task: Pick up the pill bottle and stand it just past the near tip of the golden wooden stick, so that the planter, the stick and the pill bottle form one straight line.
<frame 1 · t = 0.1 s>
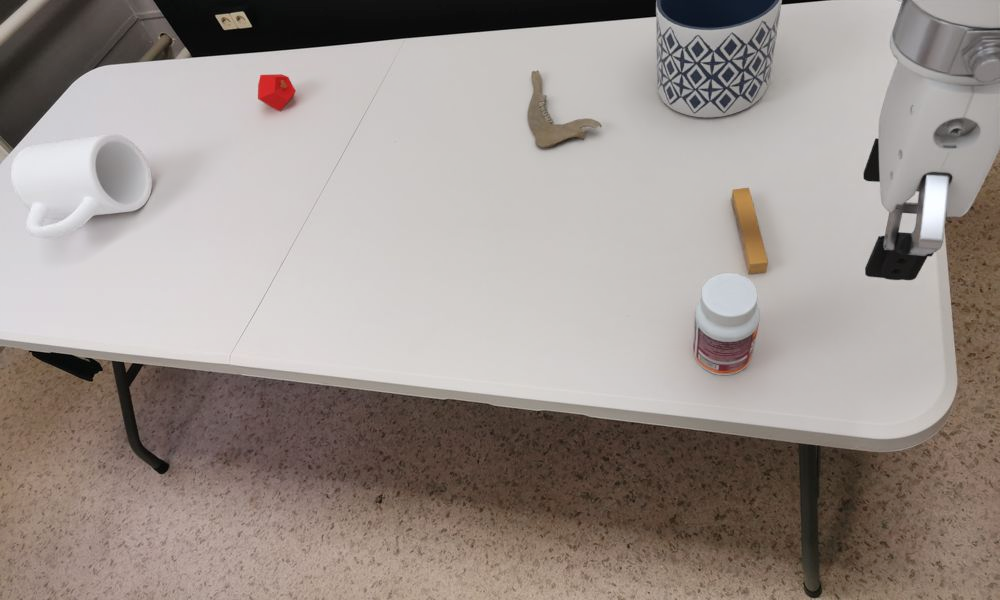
hand: (886, 224, 47), 22 cm above the table, tool pointing down, fingers open, 9 cm apart
pill bottle: (721, 353, 68), on the table
planter: (711, 86, 93), on the table
mug: (104, 217, 108), on the table
jawbone: (563, 107, 97), on the table
fry stick: (747, 234, 76), on the table
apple: (283, 104, 116), on the table
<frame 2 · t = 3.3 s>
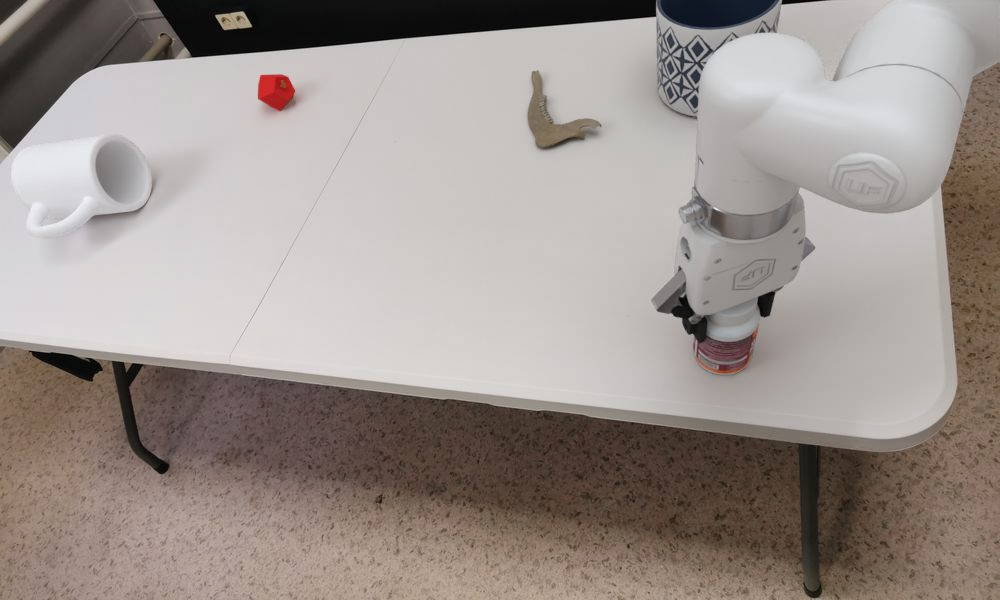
hand: (726, 318, 62), 7 cm above the table, tool pointing down, fingers closed on pill bottle, 6 cm apart
pill bottle: (721, 353, 68), on the table, touching gripper
everything else where it was.
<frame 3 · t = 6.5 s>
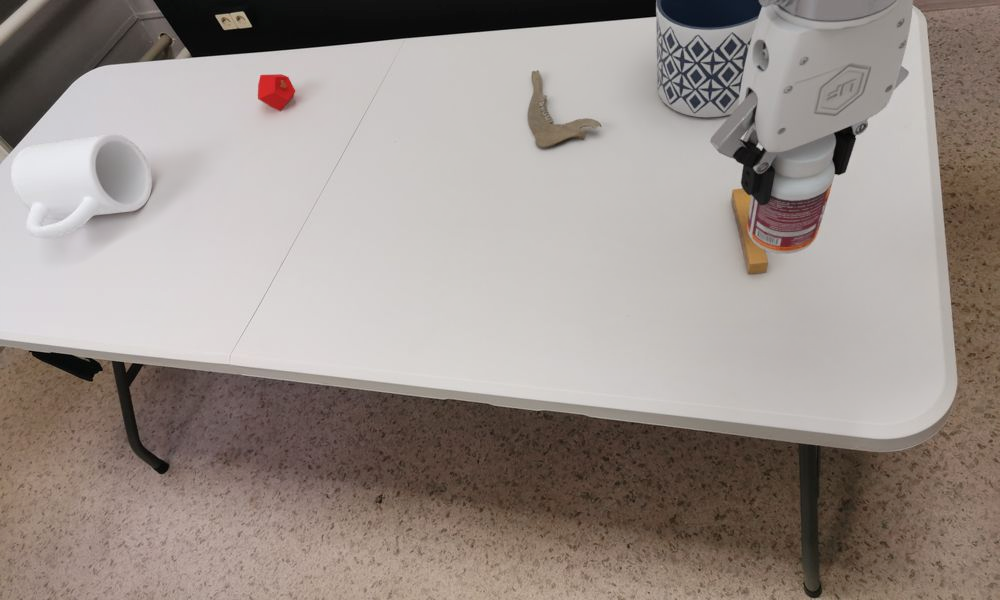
hand: (792, 177, 53), 21 cm above the table, tool pointing down, fingers closed on pill bottle, 6 cm apart
pill bottle: (780, 232, 58), point 14 cm above the table, touching gripper
everything else where it was.
when the fingers open (7 cm above the table, at t = 10.0 s): pill bottle stays where it is, on the table.
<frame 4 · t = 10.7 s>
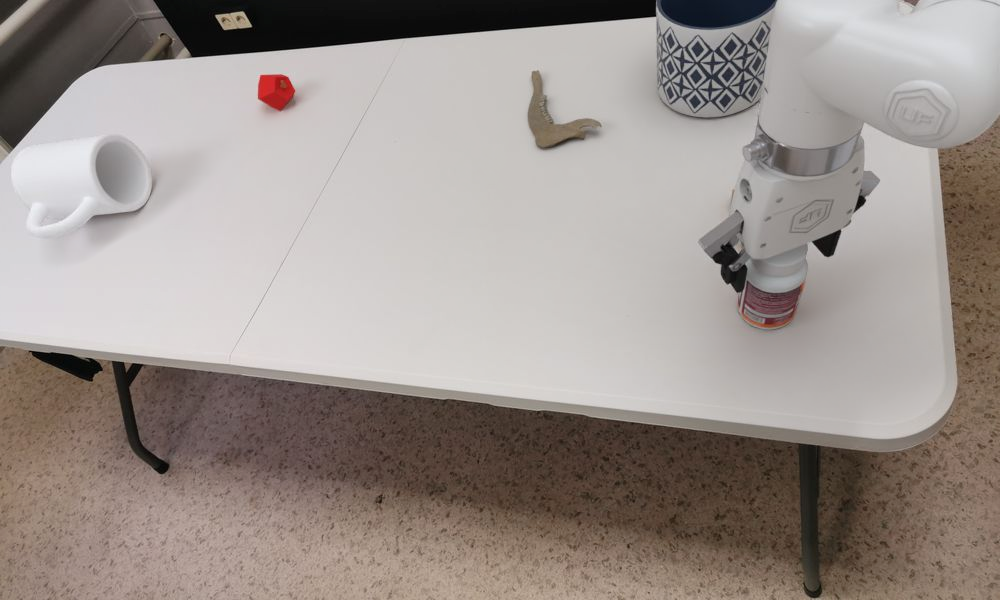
hand: (776, 264, 63), 8 cm above the table, tool pointing down, fingers open, 9 cm apart
pill bottle: (765, 309, 70), on the table
everything else where it was.
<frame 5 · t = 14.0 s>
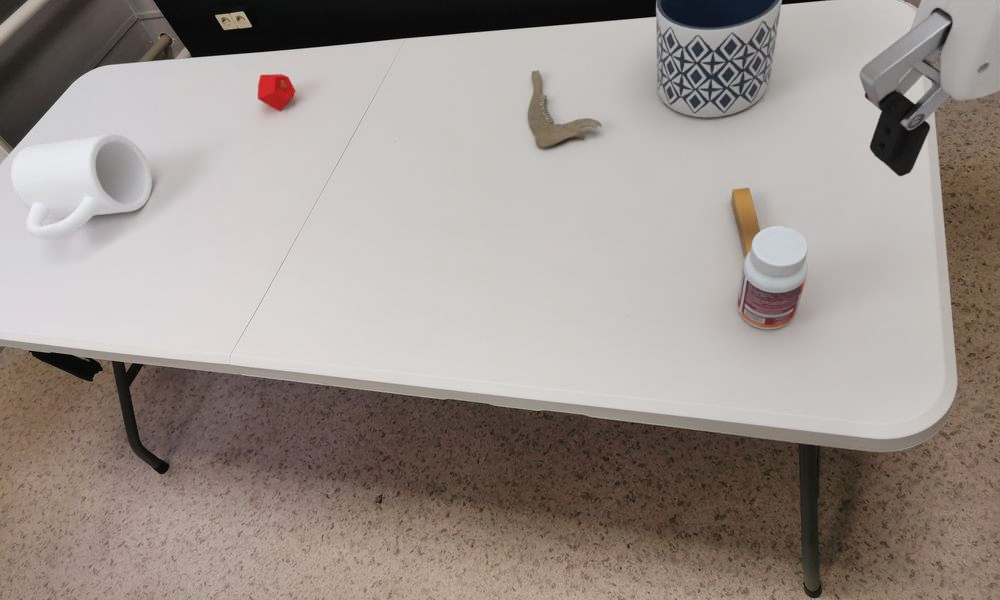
hand: (958, 134, 40), 30 cm above the table, tool pointing down, fingers open, 9 cm apart
nothing on the table moved.
at the end: pill bottle 0.0 cm from the target spot on the table beside the planter, on the table; pill bottle tilted 0° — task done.
